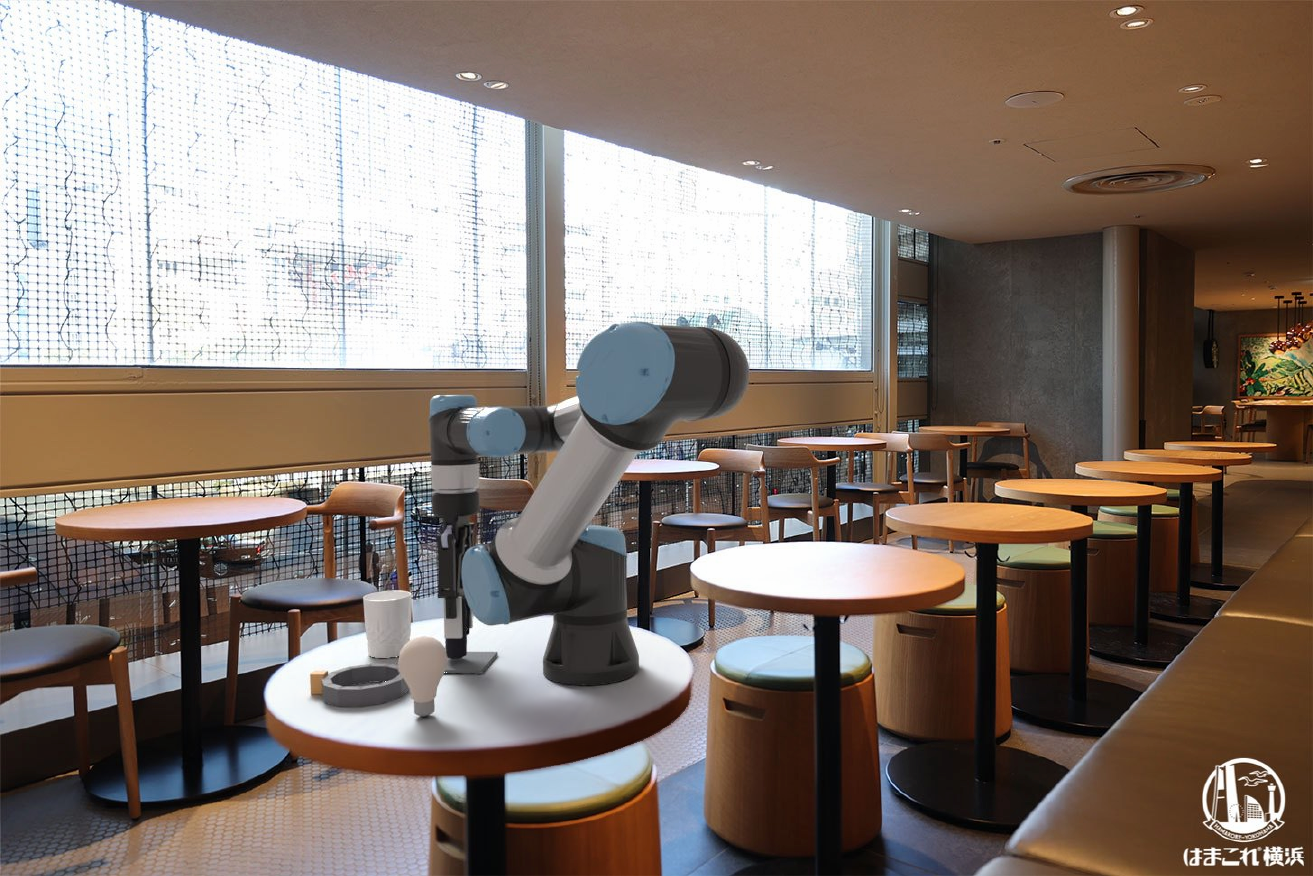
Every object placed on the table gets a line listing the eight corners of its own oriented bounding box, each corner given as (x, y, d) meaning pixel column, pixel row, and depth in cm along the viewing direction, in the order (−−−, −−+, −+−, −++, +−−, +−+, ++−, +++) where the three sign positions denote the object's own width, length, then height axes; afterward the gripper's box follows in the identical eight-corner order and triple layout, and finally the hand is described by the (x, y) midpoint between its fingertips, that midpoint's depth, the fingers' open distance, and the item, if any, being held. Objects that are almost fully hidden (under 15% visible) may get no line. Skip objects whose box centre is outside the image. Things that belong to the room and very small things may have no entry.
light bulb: (405, 709, 122) (402, 631, 122) (452, 707, 122) (450, 629, 122) (394, 726, 115) (391, 644, 115) (444, 724, 116) (442, 642, 115)
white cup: (420, 647, 153) (418, 590, 152) (402, 660, 145) (400, 601, 145) (376, 646, 154) (374, 590, 153) (356, 660, 146) (355, 600, 145)
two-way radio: (444, 652, 144) (443, 562, 144) (471, 650, 146) (471, 560, 145) (446, 661, 139) (445, 567, 139) (475, 658, 140) (474, 565, 140)
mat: (497, 655, 147) (497, 651, 147) (482, 674, 137) (481, 670, 137) (439, 655, 148) (439, 651, 148) (419, 673, 138) (419, 669, 138)
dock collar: (418, 680, 135) (418, 660, 135) (390, 707, 123) (390, 686, 123) (330, 679, 136) (330, 660, 135) (294, 706, 124) (293, 685, 124)
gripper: (449, 484, 151) (452, 618, 152) (413, 497, 132) (417, 648, 133) (492, 484, 150) (495, 618, 151) (462, 496, 132) (465, 648, 133)
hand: (458, 632), depth 142 cm, fingers closed on two-way radio, 5 cm apart
